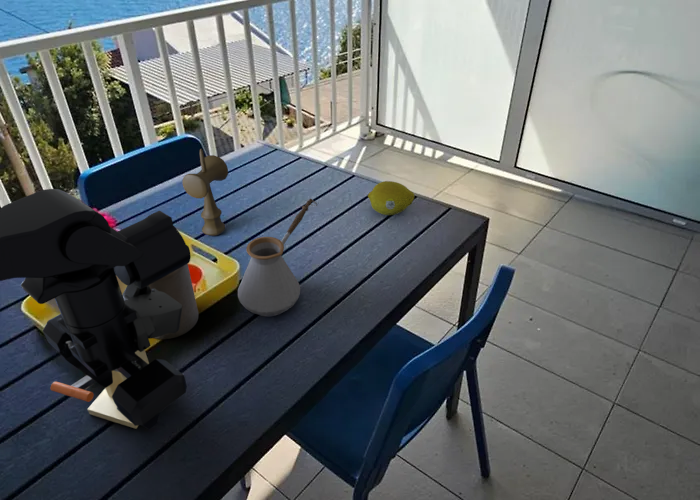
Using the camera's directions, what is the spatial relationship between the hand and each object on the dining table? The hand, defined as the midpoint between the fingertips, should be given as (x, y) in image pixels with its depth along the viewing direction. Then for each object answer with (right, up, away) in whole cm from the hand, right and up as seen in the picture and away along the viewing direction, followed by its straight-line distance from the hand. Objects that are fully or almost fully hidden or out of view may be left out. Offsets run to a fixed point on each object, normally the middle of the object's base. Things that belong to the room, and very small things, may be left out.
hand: (129, 404), depth 60 cm
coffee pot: (+14, +11, +38) cm, 41 cm away
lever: (-8, +1, +8) cm, 11 cm away
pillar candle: (-6, +6, +30) cm, 31 cm away
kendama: (-4, +23, +52) cm, 57 cm away
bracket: (-7, -4, +16) cm, 18 cm away
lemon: (+36, +27, +61) cm, 76 cm away
